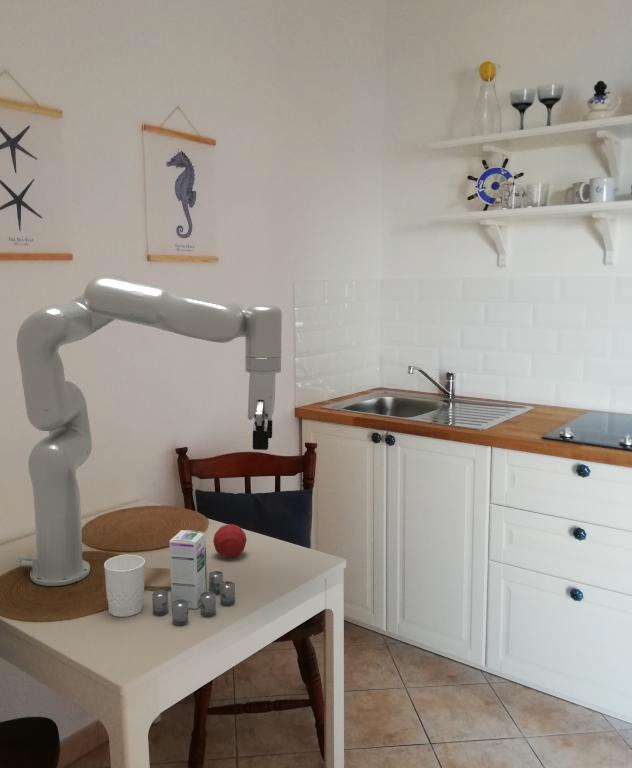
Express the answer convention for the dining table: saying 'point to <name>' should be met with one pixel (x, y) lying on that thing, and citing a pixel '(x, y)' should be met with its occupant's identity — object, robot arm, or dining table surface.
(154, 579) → the tan board
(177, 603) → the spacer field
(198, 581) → the syrup box
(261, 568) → the dining table surface
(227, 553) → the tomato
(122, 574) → the white cup
